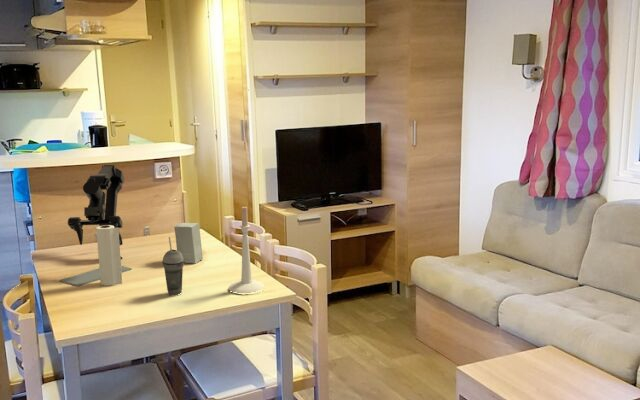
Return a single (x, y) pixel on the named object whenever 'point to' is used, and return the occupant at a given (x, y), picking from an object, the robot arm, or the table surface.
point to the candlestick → (245, 263)
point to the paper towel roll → (109, 255)
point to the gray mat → (87, 277)
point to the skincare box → (189, 242)
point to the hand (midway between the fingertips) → (93, 244)
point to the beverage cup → (173, 270)
